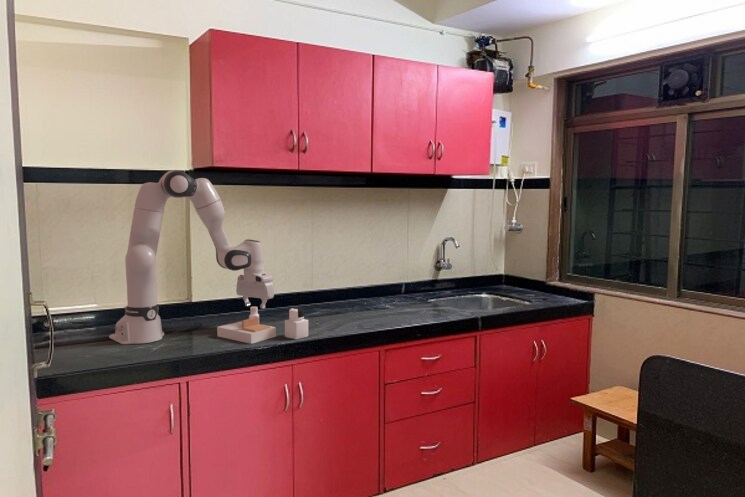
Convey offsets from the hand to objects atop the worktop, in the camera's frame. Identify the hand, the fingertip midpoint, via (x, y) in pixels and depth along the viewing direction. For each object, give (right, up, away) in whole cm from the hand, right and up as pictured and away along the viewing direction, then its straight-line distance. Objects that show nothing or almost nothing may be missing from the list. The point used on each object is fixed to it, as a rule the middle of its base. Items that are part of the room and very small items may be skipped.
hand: (255, 307), depth 246 cm
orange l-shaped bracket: (+4, -7, -17) cm, 19 cm away
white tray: (-1, -11, -14) cm, 17 cm away
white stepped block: (+20, -11, -13) cm, 27 cm away
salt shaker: (-1, -10, +1) cm, 10 cm away
